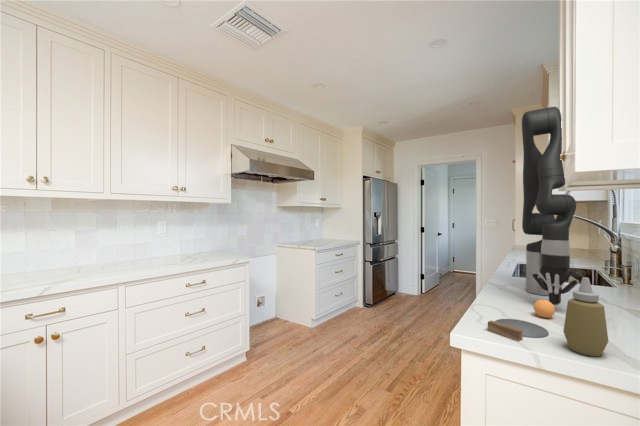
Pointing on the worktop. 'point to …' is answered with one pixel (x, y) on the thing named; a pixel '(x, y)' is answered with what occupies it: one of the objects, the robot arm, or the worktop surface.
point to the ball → (544, 308)
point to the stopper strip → (505, 330)
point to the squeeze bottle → (586, 321)
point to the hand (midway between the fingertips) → (554, 304)
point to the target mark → (525, 327)
